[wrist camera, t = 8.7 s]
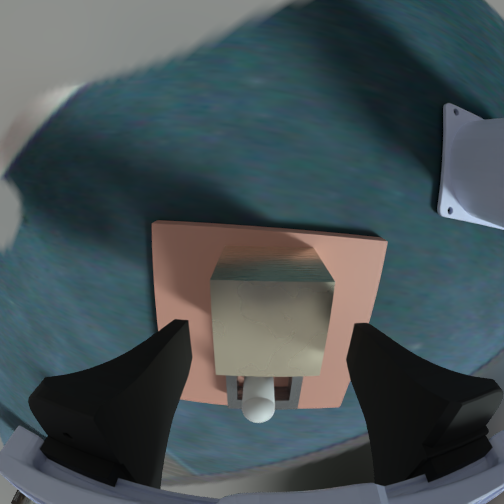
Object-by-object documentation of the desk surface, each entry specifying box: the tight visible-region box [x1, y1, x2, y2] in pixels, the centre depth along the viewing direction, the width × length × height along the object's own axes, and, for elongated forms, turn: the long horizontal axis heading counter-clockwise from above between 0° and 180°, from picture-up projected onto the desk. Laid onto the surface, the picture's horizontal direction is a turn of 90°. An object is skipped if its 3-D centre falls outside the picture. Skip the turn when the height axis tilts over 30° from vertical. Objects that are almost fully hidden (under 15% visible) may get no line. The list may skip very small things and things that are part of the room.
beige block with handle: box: [210, 246, 335, 409], centre depth 15 cm, size 12×5×5 cm, turn 179°
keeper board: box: [152, 220, 388, 423], centre depth 16 cm, size 14×14×6 cm
